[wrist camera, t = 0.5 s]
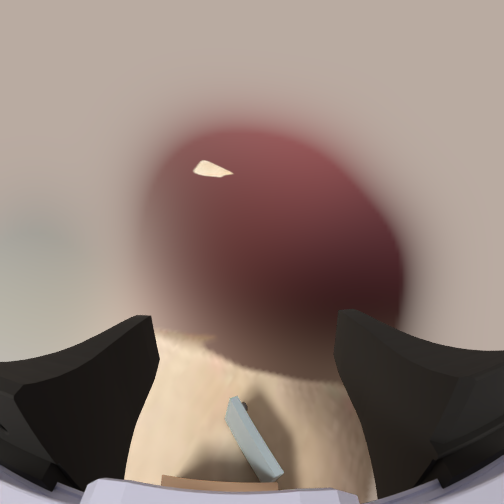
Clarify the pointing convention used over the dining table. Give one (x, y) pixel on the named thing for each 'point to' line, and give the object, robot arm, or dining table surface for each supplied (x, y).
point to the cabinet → (216, 485)
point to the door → (251, 442)
